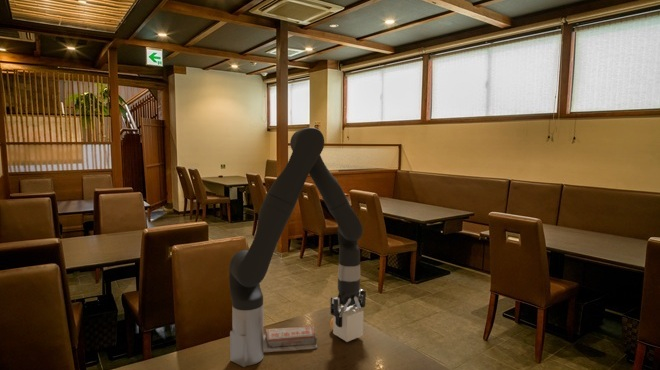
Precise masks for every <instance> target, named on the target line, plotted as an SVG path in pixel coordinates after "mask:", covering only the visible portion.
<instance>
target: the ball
mask: <svg viewBox="0 0 660 370" xmlns="http://www.w3.org/2000/svg"><path fill="white" fill-rule="evenodd" d="M329 325H330V328H331V330H333V317H332V318H331V320H330V322H329Z"/></svg>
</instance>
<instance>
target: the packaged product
mask: <svg viewBox="0 0 660 370" xmlns="http://www.w3.org/2000/svg"><path fill="white" fill-rule="evenodd" d="M315 331H316V330H315V327H314V326H309V325H308V326H294V327H278V328H266V329H265V333H263V344H264V353H271V352H272V353H273V352H287V351H288V352H291V351H299V350H300V351H301V350H303V351H304V350H305V351H306V350H315V349H316V350H317V349H318V344H317V341H318V340H317V334H316V332H315Z"/></svg>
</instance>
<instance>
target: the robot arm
mask: <svg viewBox="0 0 660 370" xmlns="http://www.w3.org/2000/svg"><path fill="white" fill-rule="evenodd" d="M289 144H290V148H291V150H292V152H291V155H290V157H289V159H288V161H287V164H286V165H285V167H284V169H283V170H282V171H281V173H280V174H279V175H278V176H277V178H276V179H275V180H274V182H273V183H272V185H271V186H270V187H269V190H268V191H267V193H266V195H265V198H264V200H263V202H262V204H261V206H260V209H259V212H258V218H257V224H256V231H255V235H254V238H253V239H252V242H251V244H250V247H248V248H249V249H248V250H247V249H243V250H239V251H238V252H236V253H235V254H234V255H233V256H232V258H231V259H230V262H229V268H228V270H229V272H228V273H229V274H228V275H229V293H230V297H231V305H232V308H231V309H232V313H231V316H232V317H231V318H232V319H231V321H232V330H230V332H229V341H230V342H229V350H230V351H229V352H230V354H229V356H230V358H229V359H230V361H231V362H233V363H235V364H236V365H239V366H240V367H242V368H246V367H247V366H253V365H256V364H258V363H260V362H261V361H262V360H263V359H264V353H265V352H264V344H263V334H264V295H263V291H262V289H261V285H260V283H262V281H263V280H264V279H265V277H266V275H267V272H268V270H269V268H270V264H271V260H272V258H273V255H274V253H275V250H276V248H277V245H278V242H279V240H280V239H281V237H282V234H283V232H284V230H285V227H286V225H287V224H288V221H289V219H290V217H291V216H292V213H293V212H294V209H295V207H296V205H297V202H298V199H299V197H300V195H301V193H302V191H303V188H304V186H305V183H306V181H307V178H308V176H309V177H310V178H311V180H312V181H313V182H314V185H315V187H316V189H317V190H318V192H319V194H320V196H321V198H322V200H323V201H324V204H325V206H326V208H327V209H328V211H329V214H330V215H332V217H333V218H334V219H335V221H336V224H337V240H338V246H339V251H338V268H337V291H338V294H337V296H336V297H333V296H331V297H330V315H332V316H335V317H336V325H337V326H338V327H342V315H343V312H344V311H346V309H347V307H349V306H355V307H357V308H359V309H361V310H362V308H365V307H366V297H367V295H366V293H367V291H366V290H364V289H363V288H361V251H360V247H359V245H358V240H360V239H361V238H362V236H363V233H364V228H363V224H362V222H361V220H360V219H359V218H358V215H357V214H356V213H355V211H354V209H353V208H352V207H351V204H350V202H349V200H348V198H347V195H346V193H345V191H344V190H343V188H342V186H341V185H340V183H339V181H338V180H337V179H336V177H334V176H333V174H332V173H331V171H330V170H329V168H328V167H327V165H326V164H325V162H324V160H323V158H322V156H321V154H322V152H323V150H324V147H325V138H324V134H323V133H322V131H321V130H320V129H318V128H316V127H312V126H311V127H304V128H301V129H298V130H297V131H295V132H294V133H293V134H292V135H291V137H290V143H289ZM341 306H343V307H341ZM340 309H341V310H340ZM339 311H340V313H339Z"/></svg>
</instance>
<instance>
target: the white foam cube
mask: <svg viewBox="0 0 660 370" xmlns="http://www.w3.org/2000/svg"><path fill="white" fill-rule="evenodd" d="M341 307H343V305H341ZM340 310H341V309H340ZM339 313H340V311H339ZM332 316H333V315H332ZM332 318H333V329H332V334H333V335H335V336H336V337H338V338H340V339H342V340H343V341H345V342H346V343H348V342H351V341H352V340H356V339H357V338H361V337H362V336H364V310H363V309H362V308H361V309H359V308H357V307H355V306H349V307H347V309H346V311H344V312H343V315H342V327H338V326H337V325H336V317H335V316H333V317H332Z"/></svg>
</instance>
